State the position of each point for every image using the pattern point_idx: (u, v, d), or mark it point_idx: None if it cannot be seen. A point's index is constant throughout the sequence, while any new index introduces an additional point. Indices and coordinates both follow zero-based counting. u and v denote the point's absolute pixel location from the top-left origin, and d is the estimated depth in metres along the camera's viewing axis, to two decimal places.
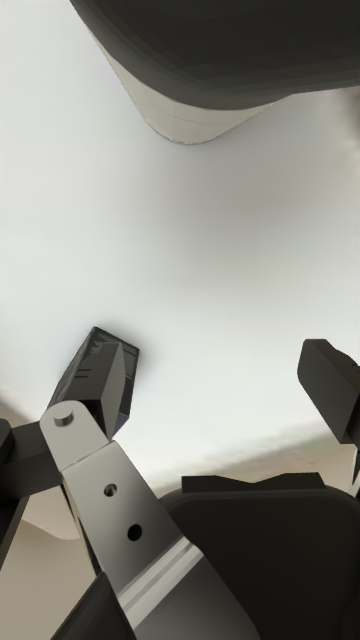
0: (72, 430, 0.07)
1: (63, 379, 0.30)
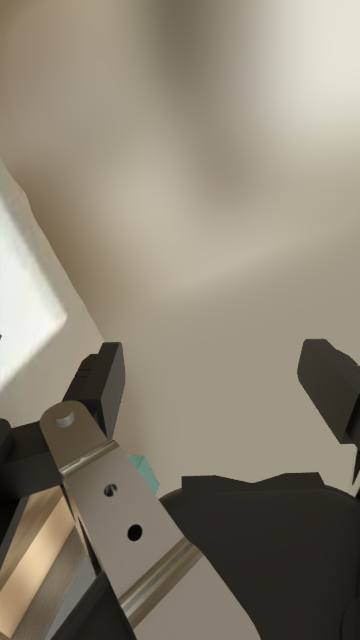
0: (72, 430, 0.07)
1: None
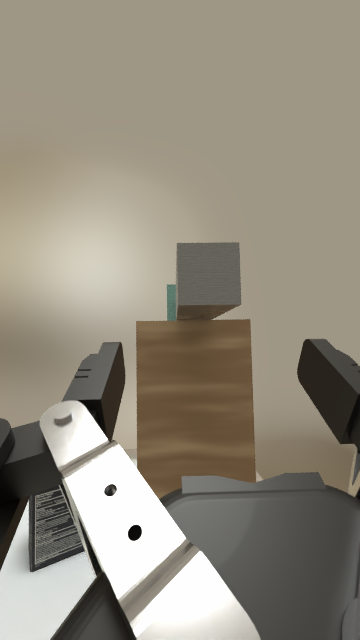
0: (72, 430, 0.07)
1: (75, 526, 0.39)
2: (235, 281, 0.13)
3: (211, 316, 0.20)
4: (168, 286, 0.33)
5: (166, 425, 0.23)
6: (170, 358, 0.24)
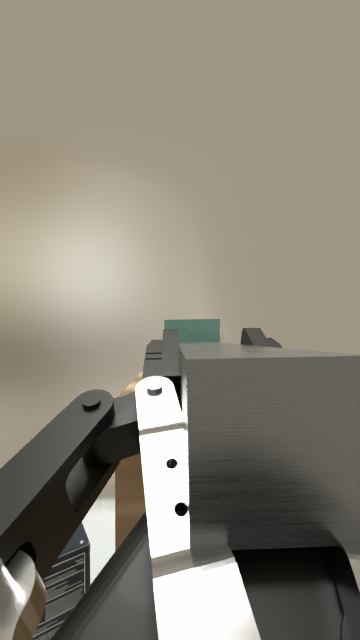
0: (158, 402, 0.08)
1: (47, 623, 0.30)
2: (358, 473, 0.04)
3: None
4: (166, 322, 0.25)
5: None
6: None
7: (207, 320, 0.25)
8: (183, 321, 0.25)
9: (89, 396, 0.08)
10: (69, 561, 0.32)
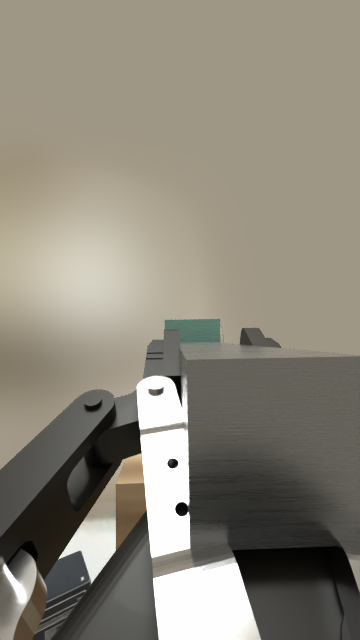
0: (159, 401, 0.08)
1: None
2: (358, 473, 0.04)
3: None
4: (166, 322, 0.25)
5: None
6: None
7: (207, 320, 0.25)
8: (183, 321, 0.25)
9: (90, 396, 0.08)
10: (70, 599, 0.32)
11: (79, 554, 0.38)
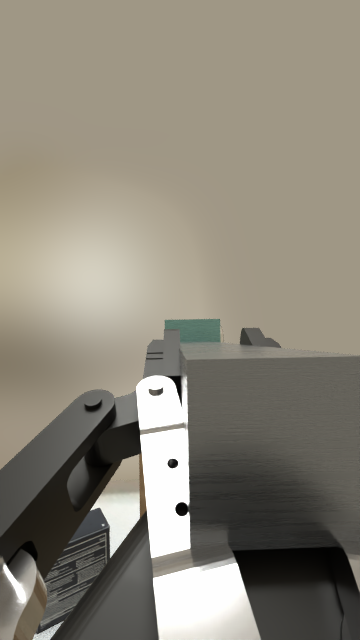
0: (159, 401, 0.08)
1: (79, 585, 0.40)
2: (359, 473, 0.04)
3: None
4: (166, 322, 0.25)
5: None
6: None
7: (207, 320, 0.25)
8: (183, 321, 0.25)
9: (91, 396, 0.08)
10: (94, 539, 0.42)
11: (99, 510, 0.47)
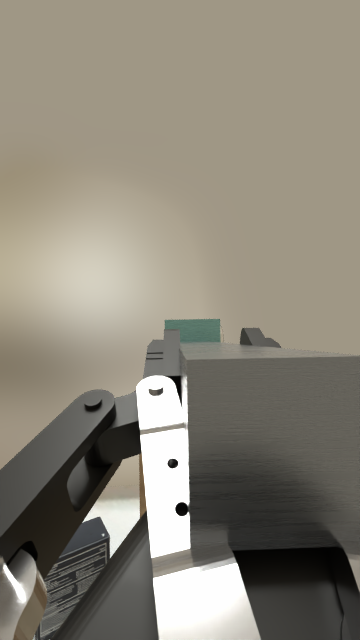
0: (159, 401, 0.08)
1: (79, 596, 0.40)
2: (359, 473, 0.04)
3: None
4: (166, 322, 0.25)
5: None
6: None
7: (207, 320, 0.25)
8: (183, 321, 0.25)
9: (90, 396, 0.08)
10: (94, 549, 0.42)
11: (99, 519, 0.47)
